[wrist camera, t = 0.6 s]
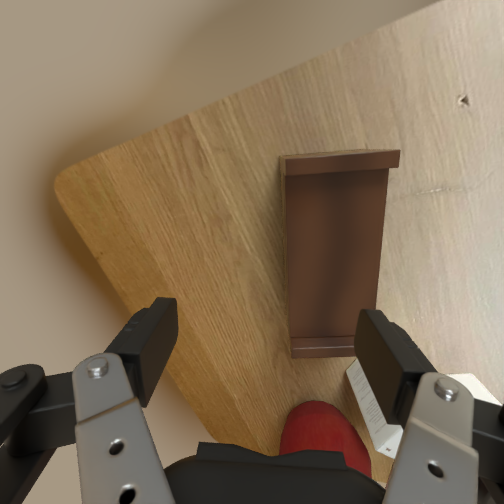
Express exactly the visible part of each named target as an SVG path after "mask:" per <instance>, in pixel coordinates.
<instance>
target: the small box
mask: <svg viewBox="0 0 504 504" xmlns="http://www.w3.org/2000/svg"><path fill="white" fill-rule="evenodd" d="M417 348H418V347H417ZM346 373H347V376H348V378H349V381H350V384H351V386H352V389H353V392H354V394H355V397H356V399H357V402H358V405H359V407H360V410H361V413H362V416H363V418H364V421H365V424H366V426H367V429H368V432H369V434H370V437H371V439H372V442H373V445H374V447H375V450H376V451H378V452H380V453H382V454H384V455H386V456H389V457H391V458H393V459H395V456H396V453H397V449H398V446H399V443H400V440H401V437H402V434H403V429H402V427H401V425H388V424H387V422H386V420H385V418H384V416H383V414H382V411H381V409H380V407H379V405H378V403H377V400H376V398H375V396H374V394H373V392H372V389H371V387H370V385H369V383H368V381H367V378H366V376H365V374H364V372H363V370H362V367H361V365H360V363H359V361H358V359H356V360H355V361H354V362H353V363H352V364H351V366H350V367H349V368H348V369H347V370H346Z"/></svg>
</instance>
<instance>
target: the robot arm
mask: <svg viewBox="0 0 504 504" xmlns="http://www.w3.org/2000/svg"><path fill="white" fill-rule="evenodd" d="M177 337H178V314H177V301H176V299H175V298H165V297H157V298H156V300H155V301H154V302H153V304H152V305H151V306H150V308H143V309H141V310H140V311H138V312H137V313H135V314H134V315H133V316H132V317H131V319H130V320H129V321H128V324H126V325H125V326H124V327H123V329H122V330H121V331H120V332H119V334H118V335H117V336H116V337H115V339H114V340H113V341H112V343H111V344H110V345H109V346H108V347H107V349H106V350H105V351H104V352H103V353H99V354H96V355H93V356H90V357H88V358H86V359H85V360H83V361H82V362H80V363H79V364H78V365H77V366H76V367H75V369H74V370H73V371H72V372H67V373H62V374H57V375H51V376H45V373H44V370H43V368H42V367H41V366H39V365H35V364H27V365H22V366H17V367H14V368H12V369H9V370H7V371H5V372H3V373H1V374H0V446H1V445H2V443H4V444H3V445H2V446H1V448H0V504H22V502H23V501H24V499H25V498H26V496H27V495H28V493H29V492H30V490H31V488H32V487H33V485H34V484H35V482H36V481H37V479H38V477H39V476H40V474H41V473H42V471H43V469H44V468H45V466H46V465H47V463H48V462H49V460H50V458H51V457H52V455H53V454H54V452H55V450H56V449H57V448H58V447H61V446H66V445H70V444H74V443H76V445H77V456H78V466H79V476H80V486H81V497H82V504H477V498H478V476H479V477H480V479H481V480H482V482H483V483H484V485H485V487H486V488H487V490H488V492H489V493H490V495H491V497H492V498H493V500H494V501H495V503H496V504H504V404H503V406H500V405H497V404H494V403H490V402H487V401H483V400H480V399H476V398H474V397H473V395H472V394H471V392H470V391H469V390H468V389H467V388H466V387H465V386H464V385H463V384H461V383H460V382H459V381H457V380H455V379H453V378H451V377H449V376H447V375H444V374H441V373H438V372H437V370H436V369H435V368H434V367H433V365H432V364H431V363H430V362H429V360H428V359H427V358H426V357H425V355H424V354H423V353H422V352H421V350H420V349H419V348H417V347H418V346H417V345H416V344H415V343H414V341H412V339H411V338H410V336H409V335H408V334H407V333H406V331H405V330H404V329H402V328H401V327H399V326H398V325H397V324H395V323H394V322H389V320H388V319H387V318H386V316H385V315H384V314H383V312H382V311H381V310H373V309H361V310H360V312H359V316H358V321H357V326H356V331H355V336H354V351H355V354H356V356H357V359H358V361H359V363H360V365H361V367H362V370H363V372H364V374H365V376H366V378H367V381H368V383H369V385H370V387H371V389H372V392H373V394H374V396H375V398H376V400H377V403H378V405H379V407H380V409H381V411H382V414H383V416H384V418H385V420H386V422H387V424H388V425H401V427H402V429H403V434H402V437H401V440H400V443H399V446H398V449H397V453H396V456H395V459H394V462H393V465H392V469H391V472H390V475H389V478H388V481H387V484H386V487H385V489H384V488H383V487H382V486H381V485H380V484H378V483H377V482H376V481H374V480H373V479H372V478H370V477H369V476H367V475H365V474H364V473H362V472H360V471H358V470H356V469H354V468H352V467H349V466H347V465H346V461H345V457H344V454H343V452H342V451H327V450H312V449H306V450H301V451H296V452H292V453H287V454H283V455H278V456H266V455H264V454H261V453H258V452H255V451H252V450H249V449H246V448H243V447H241V446H238V445H235V444H223V443H208V442H199V445H198V449H197V454H196V455H193V456H189V457H187V458H184V459H181V460H179V461H177V462H175V463H173V464H171V465H170V466H168V467H166V468H165V469H163V467H162V464H161V461H160V459H159V456H158V453H157V450H156V447H155V444H154V442H153V439H152V436H151V433H150V430H149V428H148V425H147V422H146V419H145V416H144V414H143V411H142V408H141V407H143V408H146V407H147V405H148V403H149V400H150V398H151V396H152V394H153V392H154V390H155V387H156V385H157V383H158V381H159V379H160V376H161V374H162V372H163V370H164V368H165V366H166V363H167V361H168V359H169V357H170V355H171V352H172V350H173V348H174V346H175V344H176V341H177Z"/></svg>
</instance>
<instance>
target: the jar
mask: <svg viewBox="0 0 504 504" xmlns="http://www.w3.org/2000/svg"><path fill="white" fill-rule="evenodd" d="M446 375H447V376H449V377H451V378H453V379H455V380H457V381H459V382H460V383H461V384H463V385H464V386H465V387H466V388H467V389H468V390H469V391H470V392H471V394H472V395H473V397H474V398H476V399H480V400H483V401H487V402H490V403H494V404H497V405H500V406H502V405H501V404H500V403H499V402H498V401H497V400H496V398H495V397H494V396H493V395H492V394H491V393H490V392H489V391H488V390H487V389H486V388H485V387H484V385H483V384H482V383H481V382H480V381H479V380H478V379H477V378H476V377H475V376H474V375H473V374H472V373H464V374H446ZM477 504H496V503H495V501H494V500H493V498H492V497H491V495H490V493H489V492H488V490H487V488H486V487H485V485H484V483H483V482H482V480H481V479H480V477H479V476H478V498H477Z"/></svg>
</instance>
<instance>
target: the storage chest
mask: <svg viewBox="0 0 504 504" xmlns="http://www.w3.org/2000/svg"><path fill="white" fill-rule="evenodd" d="M279 158H280V177H281V203H282V228H283V254H284V280H285V310H286V319H287V326H288V334H289V341H290V349H291V357H292V358H324V357H356V354H355V351H354V336H355V331H356V326H357V321H358V316H359V312H360V310H361V309H373V310H375V309H376V299H377V288H378V278H379V268H380V257H381V247H382V236H383V226H384V216H385V205H386V195H387V184H388V174H389V168H398V167H399V158H400V150H380V149H359V150H347V151H335V152H322V153H310V154H297V155H285V156H279Z"/></svg>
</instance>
